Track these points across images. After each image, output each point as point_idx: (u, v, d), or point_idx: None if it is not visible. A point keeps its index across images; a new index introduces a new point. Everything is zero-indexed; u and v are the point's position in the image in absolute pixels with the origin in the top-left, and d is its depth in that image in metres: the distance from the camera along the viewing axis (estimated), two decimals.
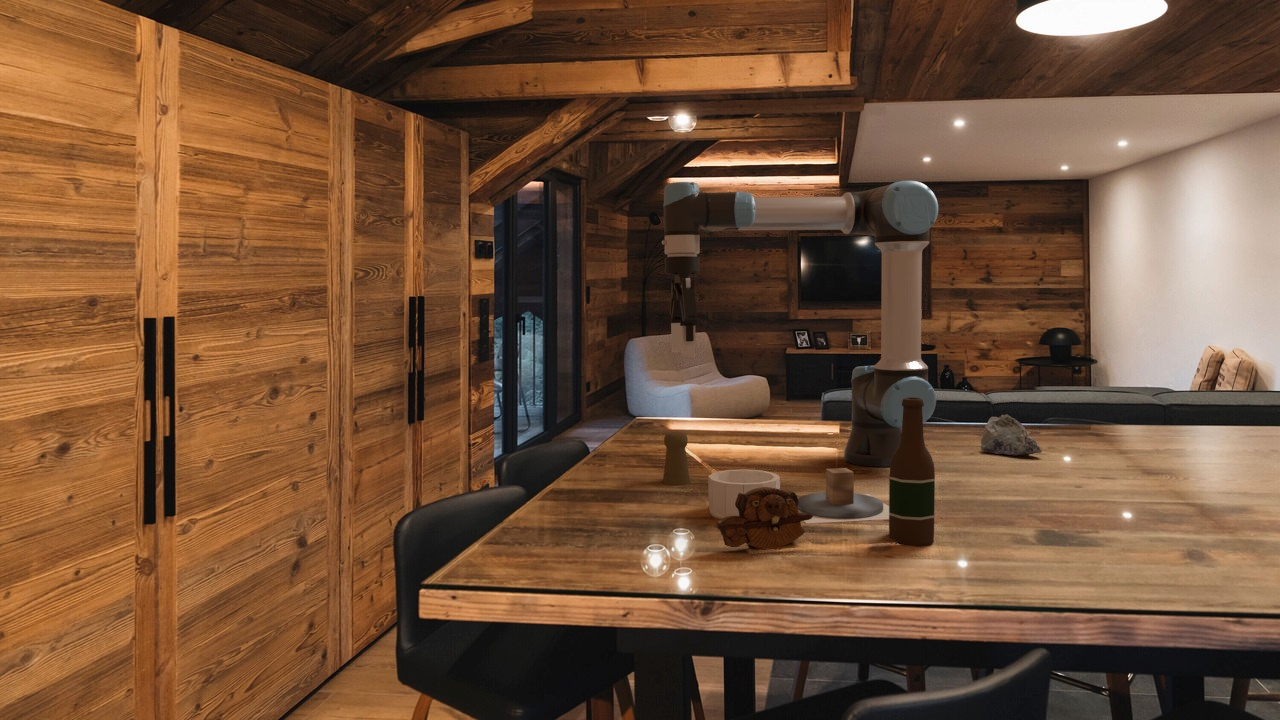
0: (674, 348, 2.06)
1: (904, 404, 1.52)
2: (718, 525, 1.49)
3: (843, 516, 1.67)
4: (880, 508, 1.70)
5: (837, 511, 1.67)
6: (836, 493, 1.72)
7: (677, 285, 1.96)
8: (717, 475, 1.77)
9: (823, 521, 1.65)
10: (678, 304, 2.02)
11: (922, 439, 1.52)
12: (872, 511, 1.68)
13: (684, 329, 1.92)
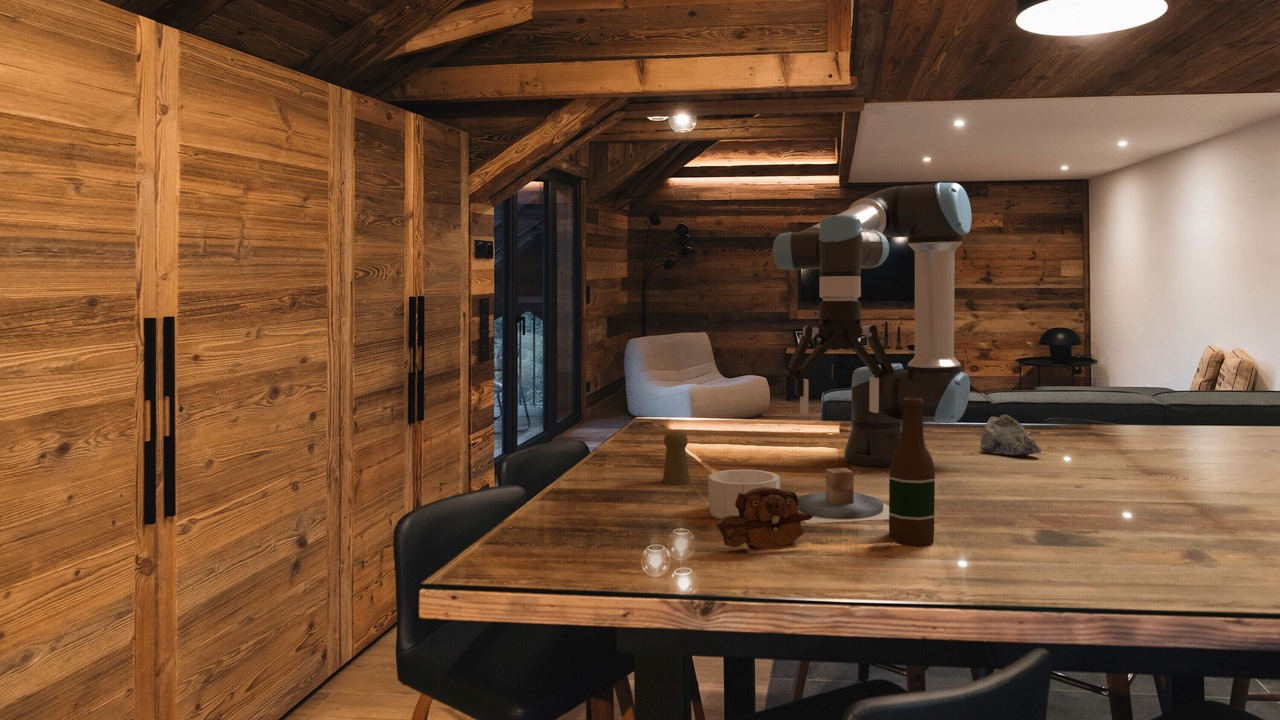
0: (870, 406, 1.74)
1: (904, 404, 1.52)
2: (718, 525, 1.49)
3: (843, 516, 1.67)
4: (880, 508, 1.70)
5: (837, 511, 1.67)
6: (836, 493, 1.72)
7: None
8: (717, 475, 1.77)
9: (823, 521, 1.65)
10: (859, 355, 1.73)
11: (922, 439, 1.52)
12: (872, 511, 1.68)
13: None
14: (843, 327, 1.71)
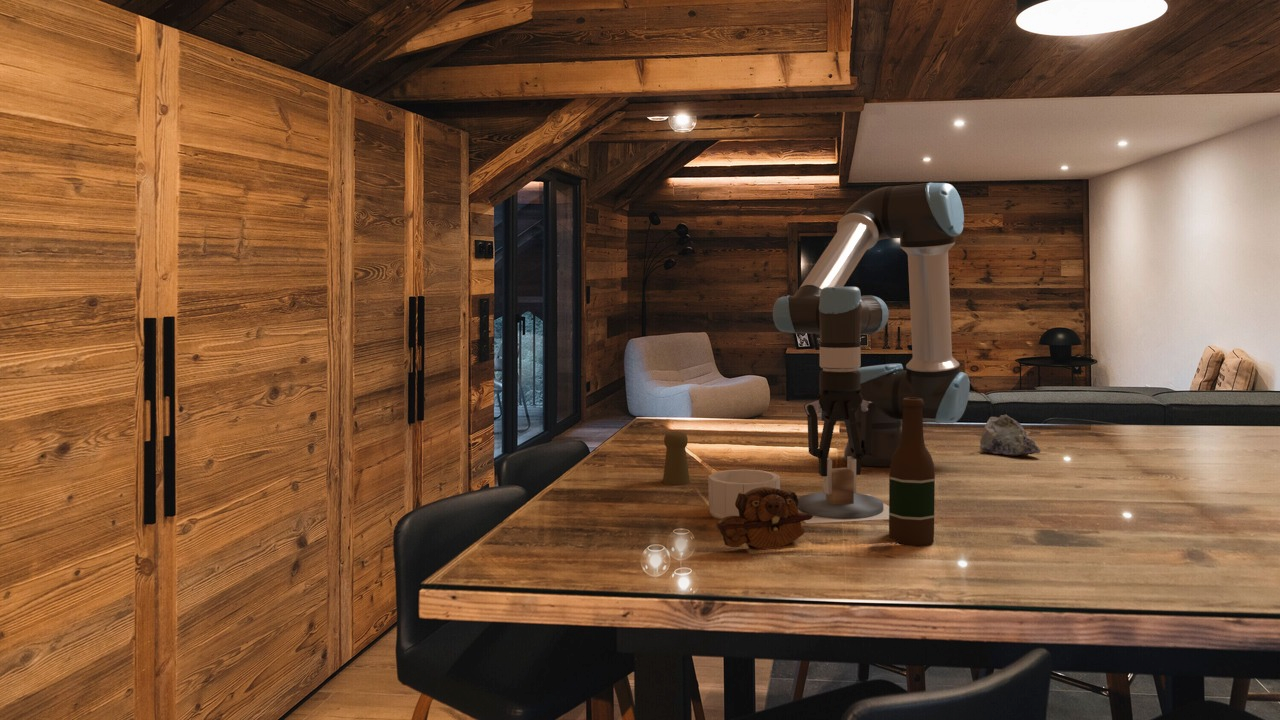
0: None
1: (904, 404, 1.52)
2: (718, 525, 1.49)
3: (843, 516, 1.67)
4: (880, 508, 1.70)
5: (837, 511, 1.67)
6: (836, 493, 1.72)
7: None
8: (717, 475, 1.77)
9: (823, 521, 1.65)
10: (847, 428, 1.74)
11: (922, 439, 1.52)
12: (872, 511, 1.68)
13: None
14: (843, 397, 1.72)
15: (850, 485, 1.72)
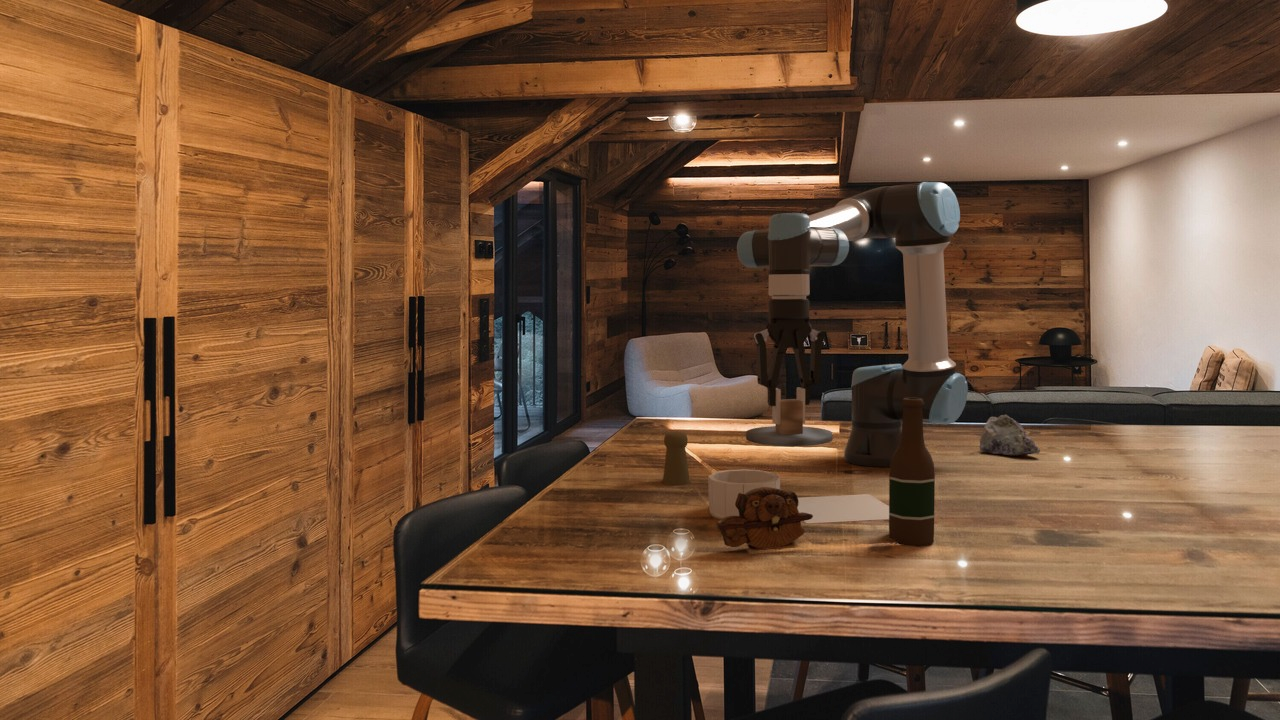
0: None
1: (904, 404, 1.52)
2: (718, 525, 1.49)
3: (791, 443, 1.65)
4: (829, 437, 1.68)
5: (785, 439, 1.66)
6: (785, 422, 1.70)
7: None
8: (717, 475, 1.77)
9: (823, 521, 1.65)
10: (797, 358, 1.72)
11: (922, 439, 1.52)
12: (820, 439, 1.66)
13: None
14: (792, 325, 1.70)
15: (799, 415, 1.71)
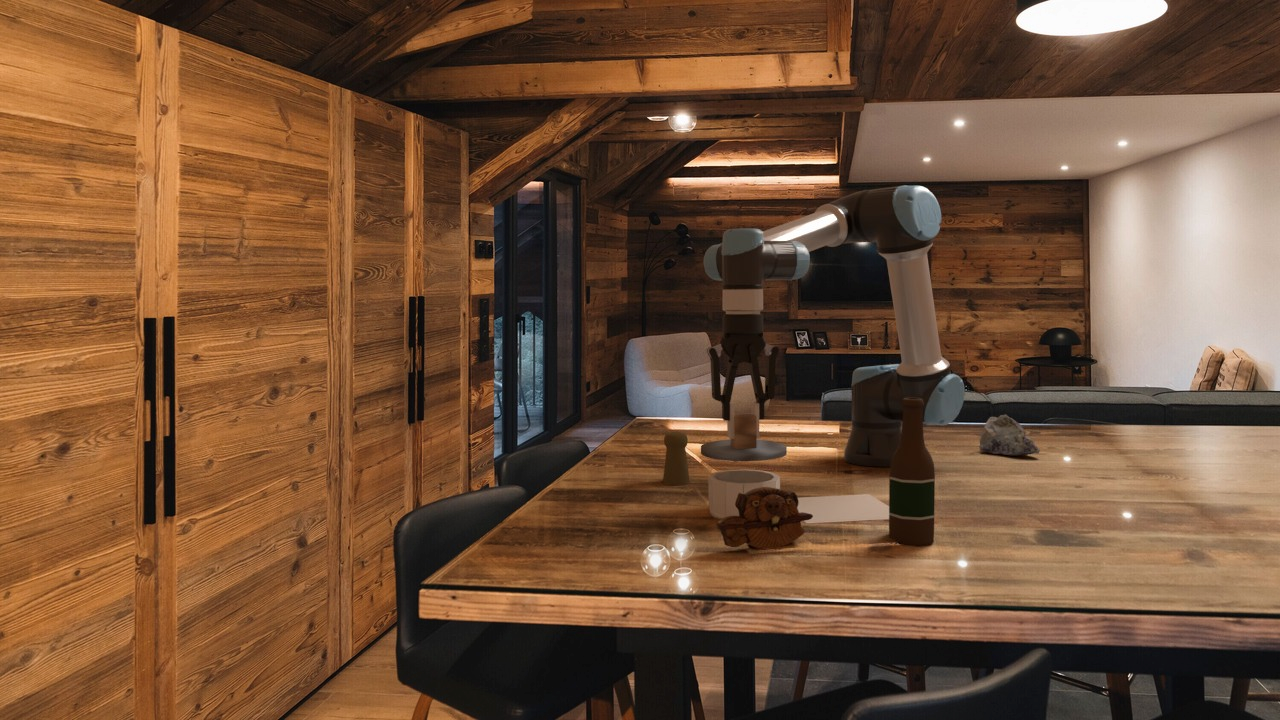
0: None
1: (904, 404, 1.52)
2: (718, 525, 1.49)
3: (742, 458, 1.65)
4: (782, 451, 1.69)
5: (737, 454, 1.66)
6: (739, 437, 1.71)
7: None
8: (717, 475, 1.77)
9: (823, 521, 1.65)
10: (751, 372, 1.72)
11: (922, 439, 1.52)
12: (772, 454, 1.67)
13: None
14: (746, 340, 1.70)
15: (753, 429, 1.71)
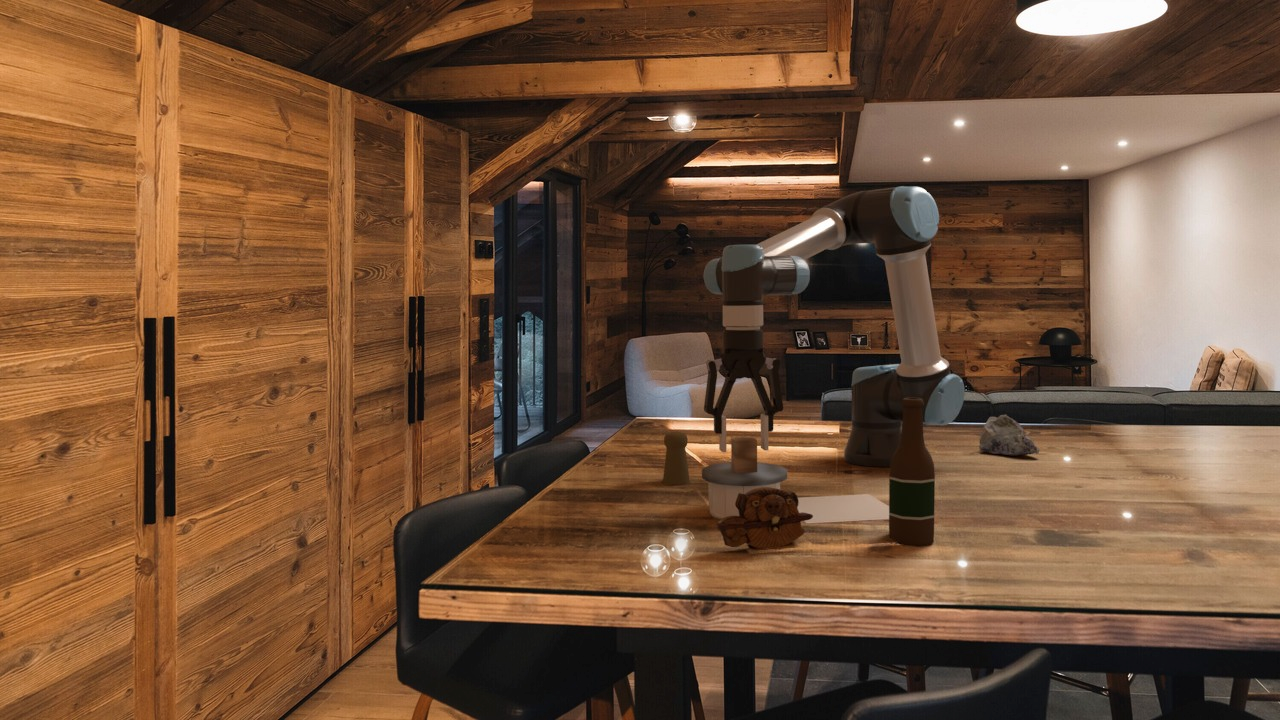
0: (761, 443, 1.74)
1: (904, 404, 1.52)
2: (718, 525, 1.49)
3: (743, 483, 1.66)
4: (782, 476, 1.69)
5: (737, 478, 1.66)
6: (739, 461, 1.71)
7: None
8: None
9: (823, 521, 1.65)
10: (756, 387, 1.73)
11: (922, 439, 1.52)
12: (773, 478, 1.67)
13: None
14: (746, 356, 1.71)
15: (753, 453, 1.71)
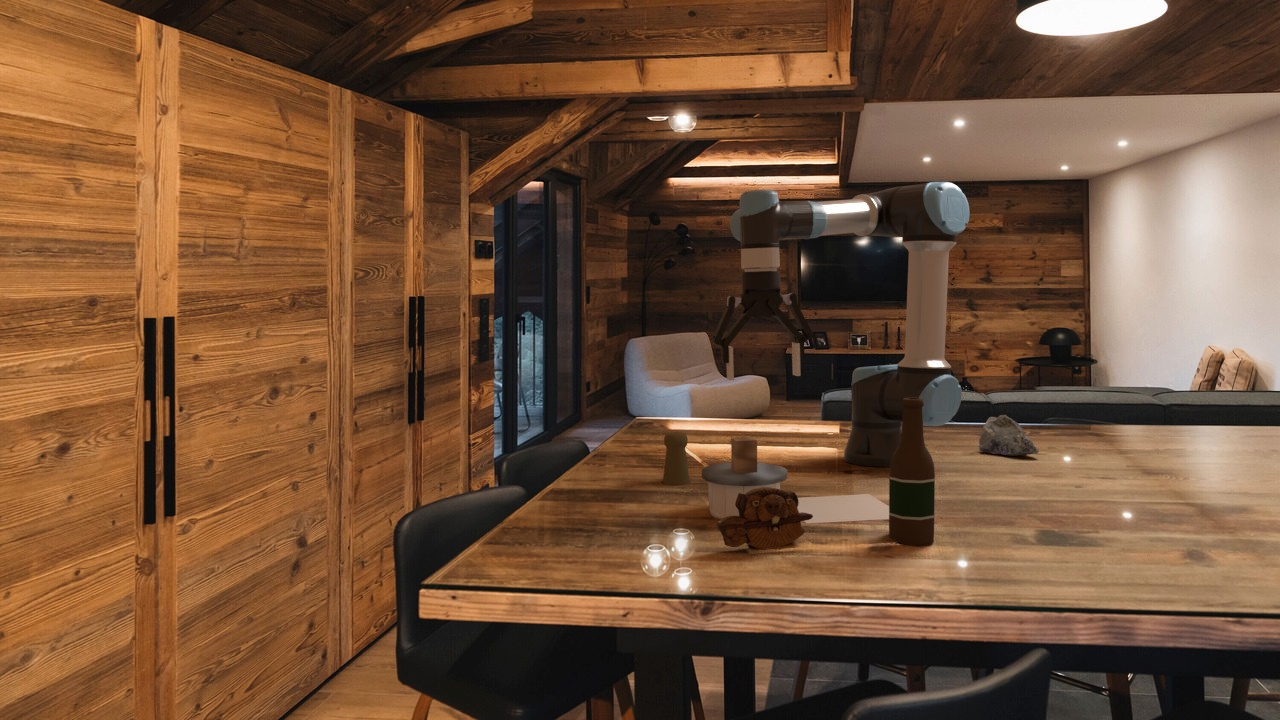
0: (793, 370, 1.85)
1: (904, 404, 1.52)
2: (718, 525, 1.49)
3: (743, 483, 1.66)
4: (782, 476, 1.69)
5: (737, 478, 1.66)
6: (739, 461, 1.71)
7: None
8: None
9: (823, 521, 1.65)
10: (781, 322, 1.83)
11: (922, 439, 1.52)
12: (773, 478, 1.67)
13: None
14: (764, 296, 1.81)
15: (753, 453, 1.71)
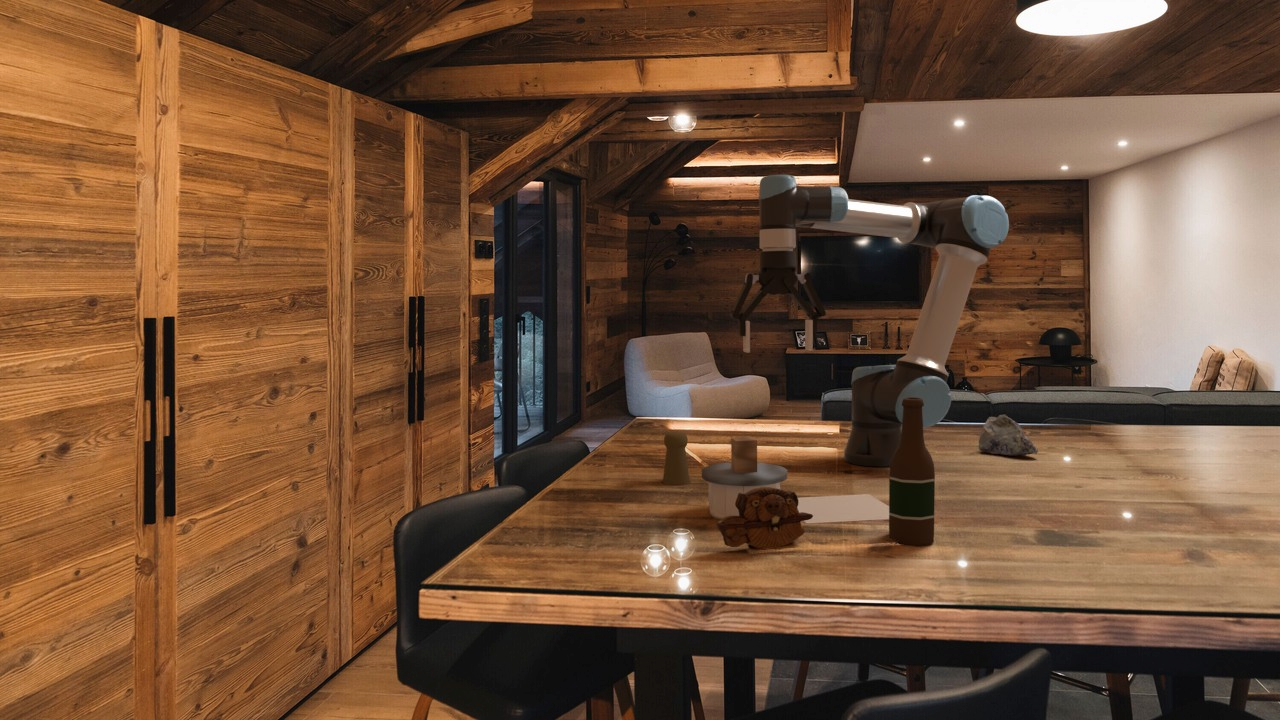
0: (806, 345, 1.97)
1: (904, 404, 1.52)
2: (718, 525, 1.49)
3: (743, 483, 1.66)
4: (782, 476, 1.69)
5: (737, 478, 1.66)
6: (739, 461, 1.71)
7: None
8: None
9: (823, 521, 1.65)
10: (795, 300, 1.95)
11: (922, 439, 1.52)
12: (773, 478, 1.67)
13: None
14: (780, 274, 1.93)
15: (753, 453, 1.71)
